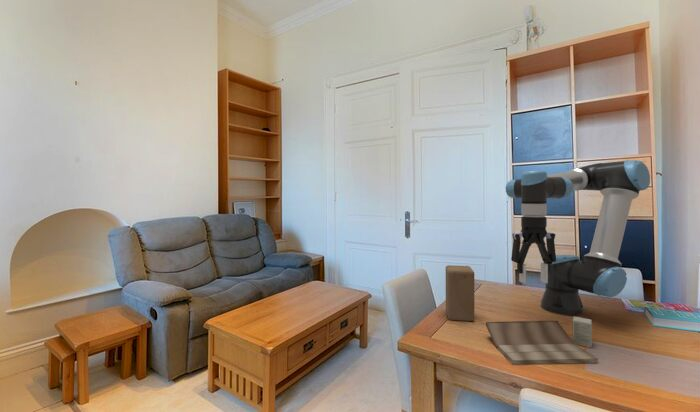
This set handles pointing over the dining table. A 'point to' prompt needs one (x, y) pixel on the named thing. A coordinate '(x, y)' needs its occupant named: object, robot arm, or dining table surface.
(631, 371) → the dining table surface
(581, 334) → the small box
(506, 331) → the plank
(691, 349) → the dining table surface
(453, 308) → the wooden block
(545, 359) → the laid board
